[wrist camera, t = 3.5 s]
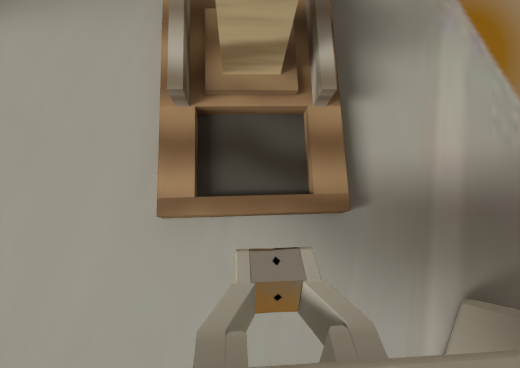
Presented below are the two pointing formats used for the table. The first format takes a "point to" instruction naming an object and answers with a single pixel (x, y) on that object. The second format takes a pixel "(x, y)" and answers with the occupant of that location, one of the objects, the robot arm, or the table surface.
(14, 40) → the table surface
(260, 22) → the wood block
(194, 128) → the track
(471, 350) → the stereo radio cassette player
